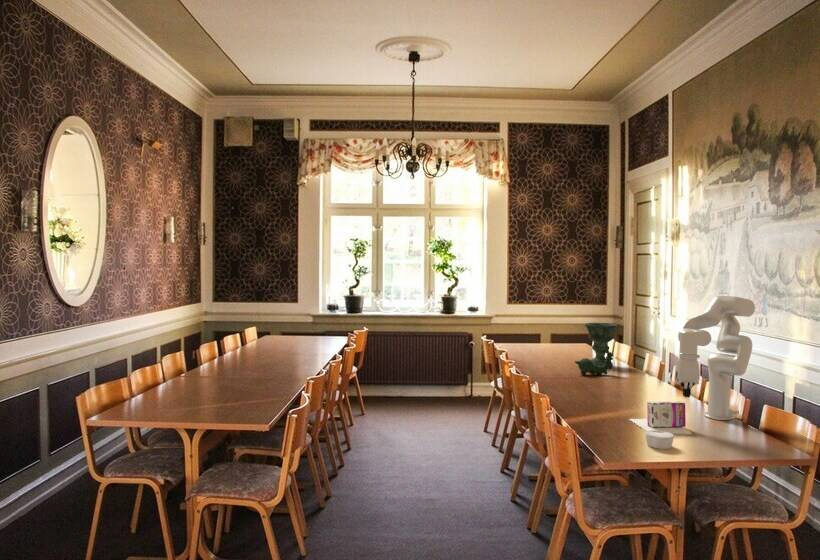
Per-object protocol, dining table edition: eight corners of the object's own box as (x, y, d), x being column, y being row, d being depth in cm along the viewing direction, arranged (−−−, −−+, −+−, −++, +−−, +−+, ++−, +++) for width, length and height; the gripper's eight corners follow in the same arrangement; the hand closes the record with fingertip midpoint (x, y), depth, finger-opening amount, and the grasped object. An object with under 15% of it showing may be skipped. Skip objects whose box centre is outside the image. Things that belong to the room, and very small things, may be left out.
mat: (667, 420, 308) (667, 419, 308) (691, 434, 284) (691, 433, 284) (628, 420, 307) (628, 418, 307) (650, 434, 283) (650, 433, 283)
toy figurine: (607, 376, 428) (570, 372, 426) (610, 348, 427) (574, 344, 425) (612, 379, 419) (575, 375, 416) (616, 350, 418) (578, 346, 416)
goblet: (623, 367, 454) (624, 325, 453) (600, 369, 443) (601, 326, 442) (599, 362, 473) (600, 322, 472) (577, 364, 462) (578, 323, 461)
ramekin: (666, 442, 272) (667, 430, 272) (678, 450, 261) (678, 437, 261) (640, 442, 272) (641, 429, 271) (651, 450, 261) (651, 437, 260)
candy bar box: (679, 401, 299) (646, 401, 296) (685, 402, 294) (652, 402, 291) (679, 425, 298) (646, 425, 296) (685, 427, 293) (652, 427, 291)
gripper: (699, 356, 299) (698, 395, 300) (668, 355, 298) (667, 394, 299) (708, 358, 292) (706, 398, 293) (676, 358, 291) (674, 398, 292)
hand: (686, 396), depth 296 cm, fingers closed
